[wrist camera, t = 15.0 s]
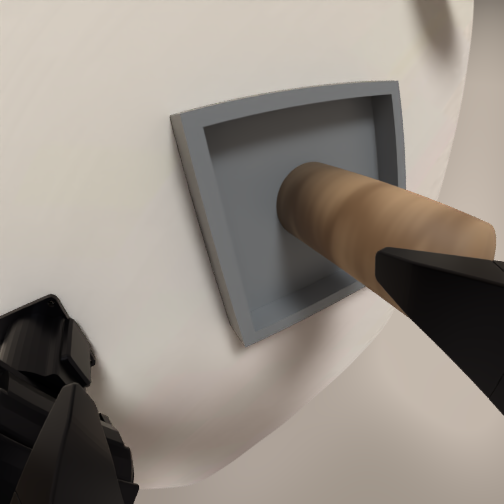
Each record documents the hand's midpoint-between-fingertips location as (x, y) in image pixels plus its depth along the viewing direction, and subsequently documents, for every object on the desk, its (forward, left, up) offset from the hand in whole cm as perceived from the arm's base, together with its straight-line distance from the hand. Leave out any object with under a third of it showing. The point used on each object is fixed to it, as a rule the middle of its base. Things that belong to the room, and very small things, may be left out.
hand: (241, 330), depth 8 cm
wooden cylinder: (+10, -3, -12) cm, 16 cm away
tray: (+10, -3, -13) cm, 17 cm away
